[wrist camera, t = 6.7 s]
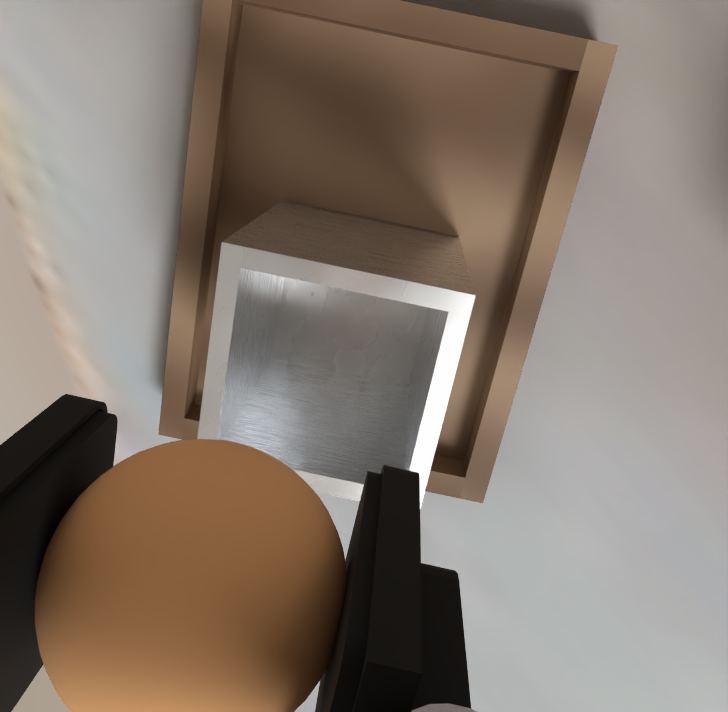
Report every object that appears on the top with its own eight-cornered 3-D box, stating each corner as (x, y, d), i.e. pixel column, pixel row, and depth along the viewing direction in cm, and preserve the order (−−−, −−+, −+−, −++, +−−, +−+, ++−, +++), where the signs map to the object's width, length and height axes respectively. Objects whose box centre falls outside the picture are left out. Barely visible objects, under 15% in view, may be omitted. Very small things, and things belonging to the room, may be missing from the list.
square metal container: (283, 199, 27) (221, 241, 19) (458, 236, 27) (475, 295, 19) (258, 363, 30) (193, 465, 21) (419, 397, 30) (418, 513, 21)
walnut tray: (226, -27, 26) (206, -40, 23) (599, 50, 26) (618, 45, 23) (177, 410, 32) (158, 434, 30) (478, 473, 32) (482, 503, 29)
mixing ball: (126, 369, 10) (-34, 507, 6) (382, 426, 10) (365, 597, 7) (103, 583, 11) (-42, 799, 8) (332, 633, 11) (293, 873, 8)
